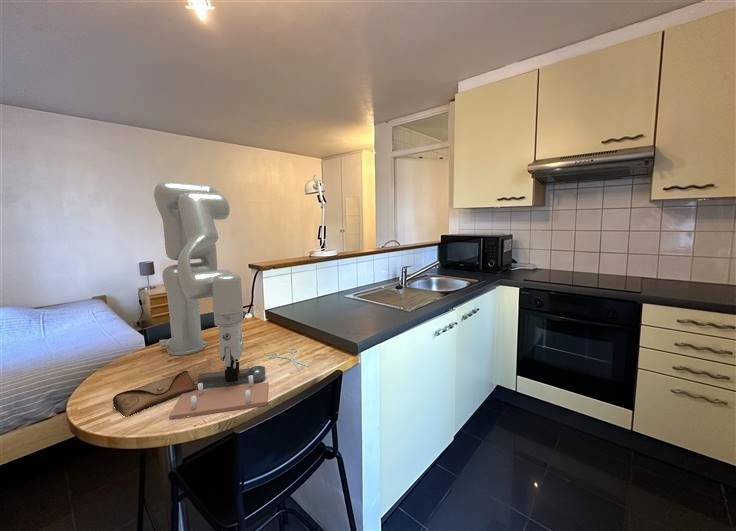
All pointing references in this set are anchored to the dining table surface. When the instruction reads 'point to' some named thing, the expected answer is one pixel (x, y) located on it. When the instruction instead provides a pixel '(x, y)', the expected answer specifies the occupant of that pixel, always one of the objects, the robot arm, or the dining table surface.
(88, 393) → the dining table surface
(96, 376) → the dining table surface
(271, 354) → the scissors
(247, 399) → the peg rack
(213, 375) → the grey spoon
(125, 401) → the sunglasses case
